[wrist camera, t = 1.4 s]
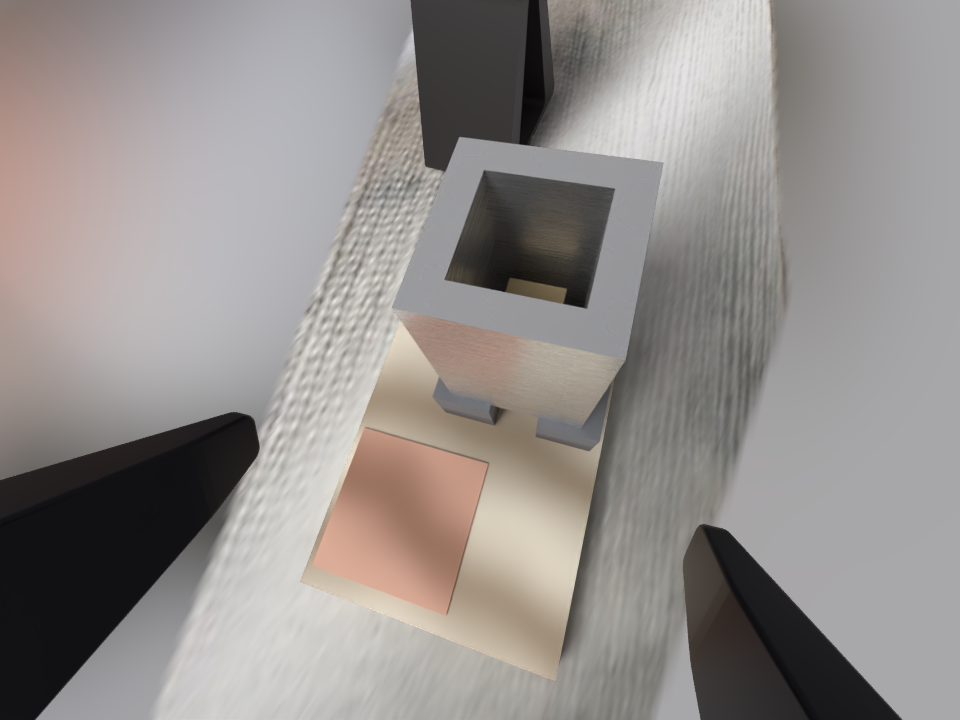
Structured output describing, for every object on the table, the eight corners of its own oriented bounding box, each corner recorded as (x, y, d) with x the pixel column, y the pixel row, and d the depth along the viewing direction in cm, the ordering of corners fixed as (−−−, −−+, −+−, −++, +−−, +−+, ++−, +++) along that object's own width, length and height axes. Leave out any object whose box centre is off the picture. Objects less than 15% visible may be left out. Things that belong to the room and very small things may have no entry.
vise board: (553, 667, 17) (573, 805, 9) (316, 576, 19) (169, 624, 12) (620, 330, 22) (672, 230, 14) (423, 289, 24) (372, 183, 16)
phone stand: (476, 77, 30) (445, -181, 19) (554, 91, 29) (570, -178, 17) (425, 169, 27) (354, -64, 16) (508, 189, 26) (492, -50, 15)
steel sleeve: (580, 428, 16) (625, 360, 9) (452, 395, 17) (392, 307, 10) (606, 309, 18) (663, 162, 10) (487, 285, 19) (459, 136, 11)
